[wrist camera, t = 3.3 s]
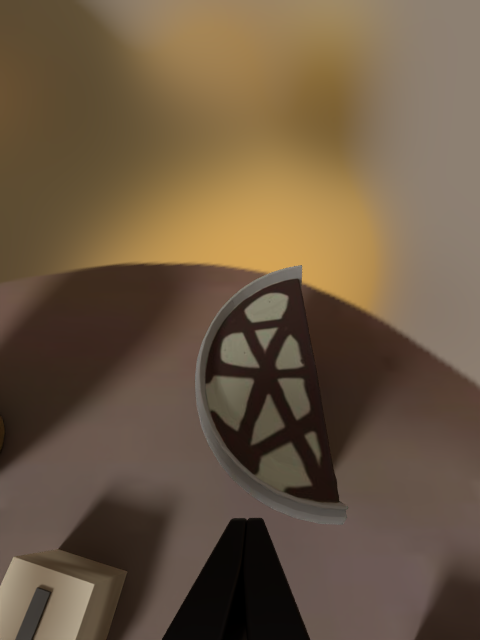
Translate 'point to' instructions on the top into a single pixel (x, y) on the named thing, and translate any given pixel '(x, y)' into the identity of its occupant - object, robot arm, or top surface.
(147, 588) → the top surface
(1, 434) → the plant pot
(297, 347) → the food container
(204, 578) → the robot arm
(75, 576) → the numbered tile one
